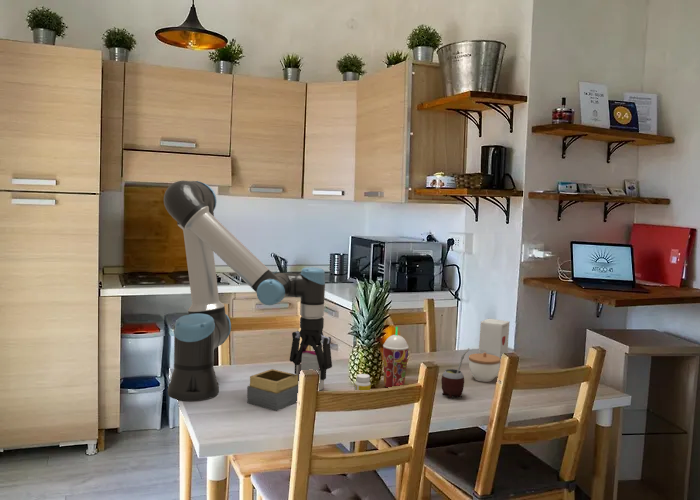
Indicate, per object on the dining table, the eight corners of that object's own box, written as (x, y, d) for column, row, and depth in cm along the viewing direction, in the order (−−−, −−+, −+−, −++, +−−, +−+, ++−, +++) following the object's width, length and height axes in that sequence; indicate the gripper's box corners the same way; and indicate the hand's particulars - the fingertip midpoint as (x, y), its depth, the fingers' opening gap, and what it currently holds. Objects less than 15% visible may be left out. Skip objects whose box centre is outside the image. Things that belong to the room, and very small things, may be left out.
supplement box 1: (318, 390, 199) (319, 355, 198) (299, 390, 199) (300, 354, 198) (319, 385, 205) (320, 350, 204) (301, 384, 205) (302, 349, 204)
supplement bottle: (373, 403, 189) (374, 376, 188) (362, 406, 186) (363, 378, 185) (361, 399, 192) (362, 372, 192) (350, 402, 189) (352, 375, 188)
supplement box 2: (499, 363, 241) (502, 324, 239) (477, 359, 245) (479, 321, 244) (507, 358, 248) (510, 321, 247) (486, 354, 253) (488, 317, 252)
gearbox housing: (247, 402, 185) (247, 376, 184) (271, 393, 194) (271, 368, 194) (276, 411, 179) (277, 383, 178) (299, 401, 188) (300, 375, 188)
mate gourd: (438, 397, 197) (440, 350, 195) (444, 390, 204) (446, 345, 203) (462, 401, 194) (464, 353, 193) (467, 394, 201) (469, 348, 200)
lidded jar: (464, 380, 216) (466, 354, 215) (471, 373, 226) (472, 347, 225) (496, 385, 212) (498, 358, 211) (501, 377, 222) (503, 351, 221)
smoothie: (407, 391, 202) (410, 330, 200) (381, 390, 202) (384, 329, 200) (405, 383, 210) (408, 324, 208) (380, 382, 210) (383, 323, 208)
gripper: (345, 319, 197) (342, 390, 200) (293, 310, 208) (291, 378, 210) (332, 323, 191) (329, 396, 193) (279, 313, 202) (277, 383, 204)
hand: (309, 386), depth 202 cm, fingers closed on supplement box 1, 8 cm apart
